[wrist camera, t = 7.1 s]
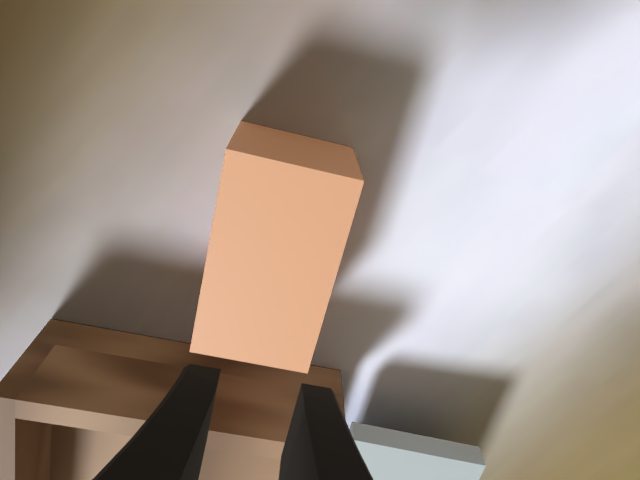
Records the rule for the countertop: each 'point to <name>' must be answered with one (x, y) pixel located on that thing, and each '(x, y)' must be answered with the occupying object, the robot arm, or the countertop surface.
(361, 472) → the robot arm
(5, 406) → the wooden tray
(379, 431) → the pale grey board
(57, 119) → the countertop surface
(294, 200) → the block
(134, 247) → the countertop surface
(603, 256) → the countertop surface
